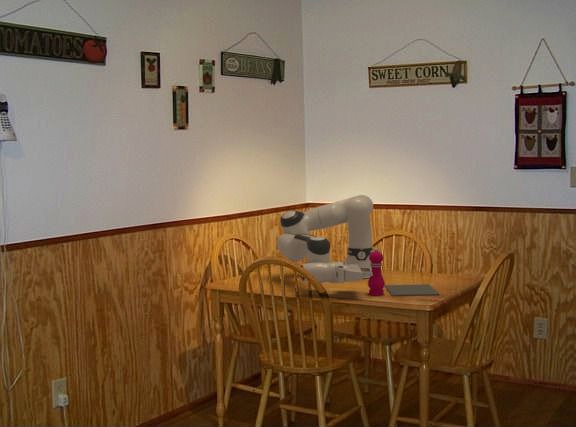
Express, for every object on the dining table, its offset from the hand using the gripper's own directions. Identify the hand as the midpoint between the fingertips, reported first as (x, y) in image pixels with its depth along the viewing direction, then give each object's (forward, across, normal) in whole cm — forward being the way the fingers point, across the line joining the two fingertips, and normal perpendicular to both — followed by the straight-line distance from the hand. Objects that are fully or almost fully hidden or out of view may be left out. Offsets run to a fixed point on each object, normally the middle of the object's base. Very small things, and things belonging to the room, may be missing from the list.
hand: (371, 271), depth 336 cm
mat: (+18, -6, -10) cm, 22 cm away
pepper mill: (+2, 0, -10) cm, 10 cm away
